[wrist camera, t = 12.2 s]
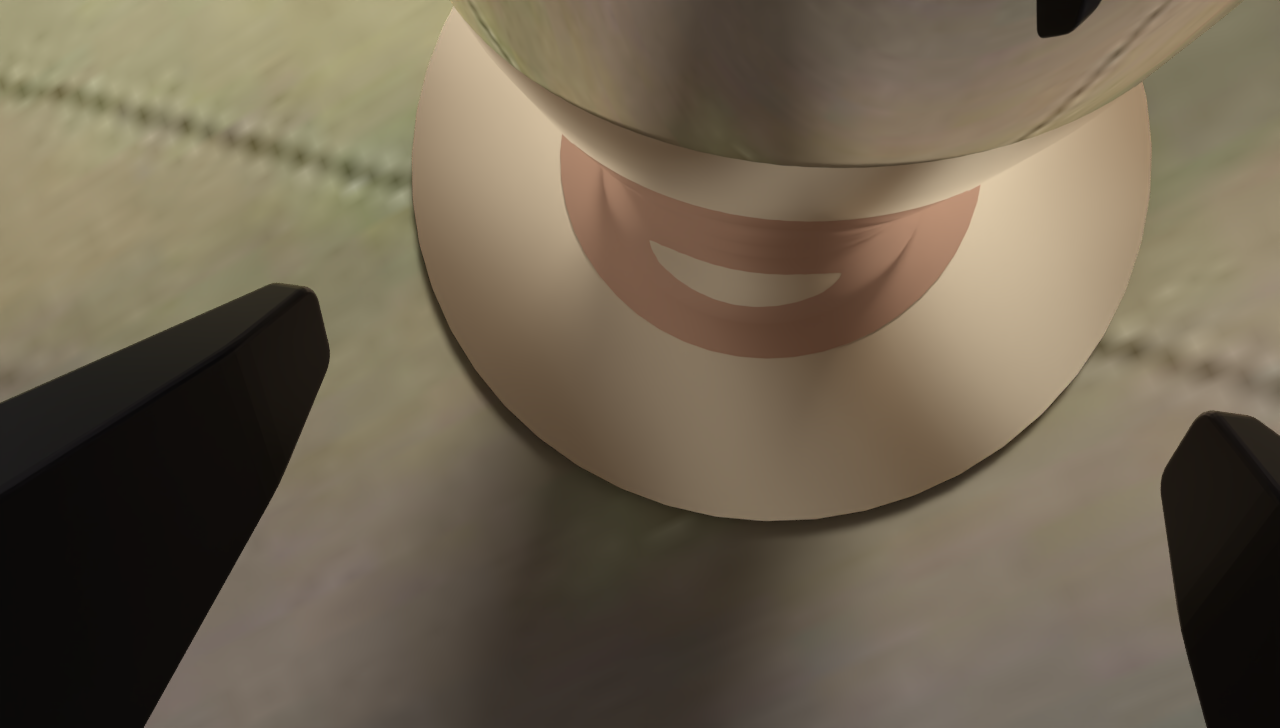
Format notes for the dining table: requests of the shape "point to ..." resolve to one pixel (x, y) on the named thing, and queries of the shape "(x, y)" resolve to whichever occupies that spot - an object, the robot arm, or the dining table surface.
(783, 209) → the silver tall cup
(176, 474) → the robot arm
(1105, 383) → the dining table surface
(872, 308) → the coaster
